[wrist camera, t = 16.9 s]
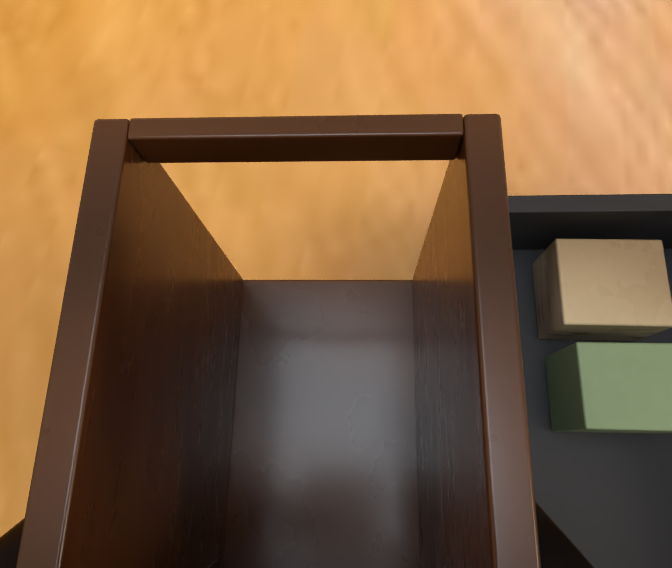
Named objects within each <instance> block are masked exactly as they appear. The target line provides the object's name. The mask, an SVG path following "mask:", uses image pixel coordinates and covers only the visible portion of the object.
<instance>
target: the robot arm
mask: <svg viewBox="0 0 672 568" xmlns="http://www.w3.org/2000/svg"><path fill="white" fill-rule="evenodd" d="M535 507H536V518H537V529H538V540H539V552H540V563H541V568H594V567H593V565H592V564H591V563H590V562H589V561H588V560H587V559H586V558H585V556H584V555H583V554H582V553H581V552H580V551H579V550H578V548H577V547H576V546H575V545H574V544H573V543H572V542H571V540H570V539H569V538H568V537H567V536H566V535H565V534H564V532H563V531H562V530H561V529H560V528H559V527H558V526H557V524H556V523H555V522H554V521H553V520H552V519H551V518H550V516H549V515H548V514H547V513H546V512H545V511H544V510H543V508H542V507H541V506H540V505H539V504H538V503H537V502H536V501H535ZM24 520H25V518H24V519H23V520H22V521H20V522H19V523H18V524H17V525H15V526H14V527H13V528H12V529H10V530H9V531H8V532H7V533H5V534H4V535H3V536H2V537H0V568H16V565H17V560H18V554H19V548H20V543H21V537H22V531H23V526H24Z"/></svg>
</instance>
